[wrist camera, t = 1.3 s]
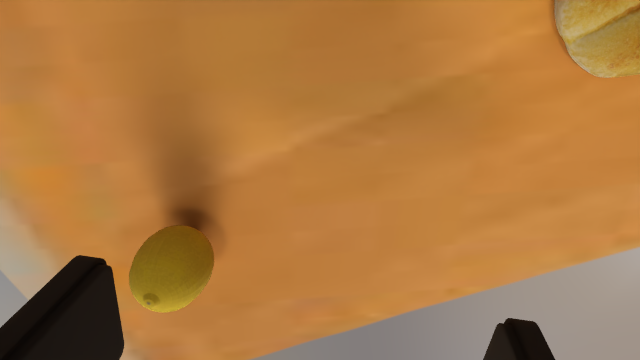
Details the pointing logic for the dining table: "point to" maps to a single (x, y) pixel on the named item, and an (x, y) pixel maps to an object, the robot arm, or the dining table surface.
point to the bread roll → (601, 35)
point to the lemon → (171, 268)
